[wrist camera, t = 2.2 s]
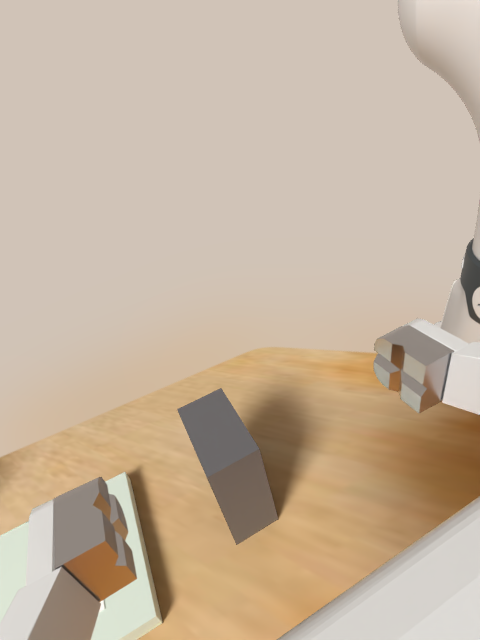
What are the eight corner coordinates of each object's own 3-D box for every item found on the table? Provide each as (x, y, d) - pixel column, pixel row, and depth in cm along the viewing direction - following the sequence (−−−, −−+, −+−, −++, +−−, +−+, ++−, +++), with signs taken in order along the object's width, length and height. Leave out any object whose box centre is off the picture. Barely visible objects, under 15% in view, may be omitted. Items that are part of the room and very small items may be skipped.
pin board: (130, 479, 36) (116, 458, 34) (162, 622, 26) (145, 605, 24) (6, 544, 33) (-18, 525, 31) (-12, 734, 23) (-49, 725, 21)
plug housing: (243, 457, 36) (221, 388, 30) (278, 519, 31) (259, 448, 25) (206, 476, 35) (177, 409, 29) (236, 544, 30) (206, 477, 24)
